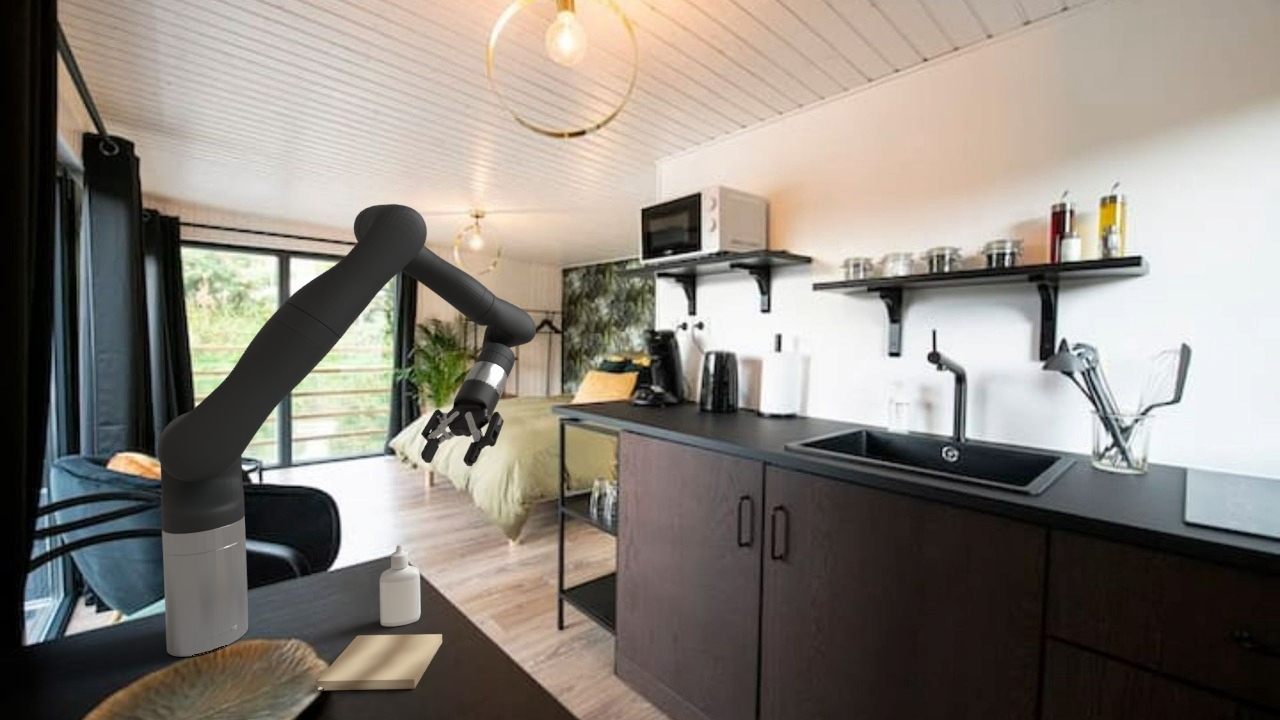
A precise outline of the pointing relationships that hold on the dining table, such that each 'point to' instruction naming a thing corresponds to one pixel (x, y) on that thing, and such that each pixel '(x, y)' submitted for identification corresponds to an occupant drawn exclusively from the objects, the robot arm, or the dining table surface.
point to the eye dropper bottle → (400, 591)
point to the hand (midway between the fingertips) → (446, 462)
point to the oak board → (381, 662)
